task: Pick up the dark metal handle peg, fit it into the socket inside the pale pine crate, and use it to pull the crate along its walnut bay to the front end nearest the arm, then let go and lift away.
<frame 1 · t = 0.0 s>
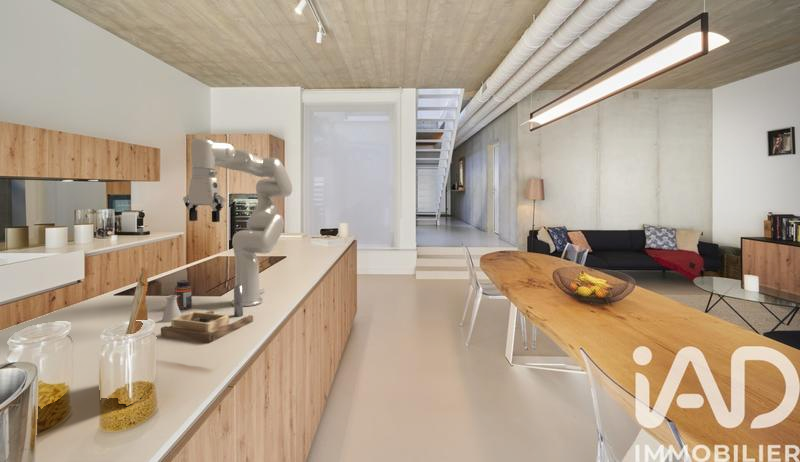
hand: (204, 221, 134), 37 cm above the worktop, tool pointing down, fingers open, 9 cm apart
crate: (200, 324, 120), point 4 cm above the worktop, slide at 0.0 cm
handle peg: (238, 319, 138), on the worktop
supplement bottle: (183, 308, 150), on the worktop
bay: (210, 332, 124), on the worktop
flask: (172, 324, 132), on the worktop
pancake mix bag: (138, 390, 87), on the worktop
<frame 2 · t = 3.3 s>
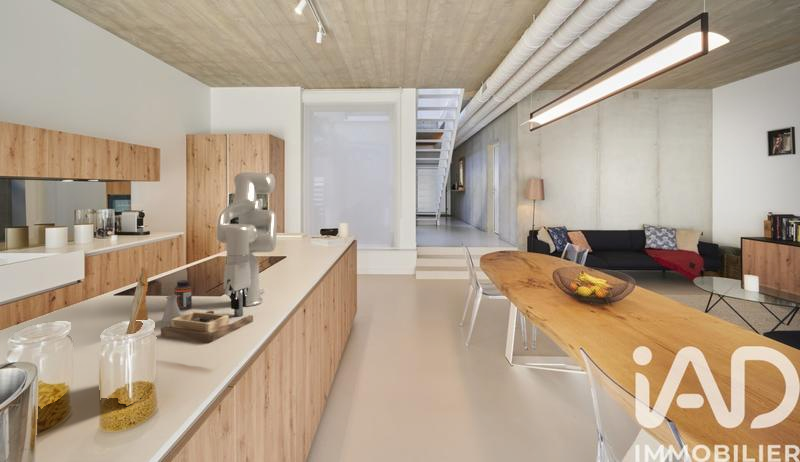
hand: (238, 307, 138), 5 cm above the worktop, tool pointing down, fingers closed on handle peg, 3 cm apart
handle peg: (238, 319, 138), on the worktop, touching gripper
everything else where it was.
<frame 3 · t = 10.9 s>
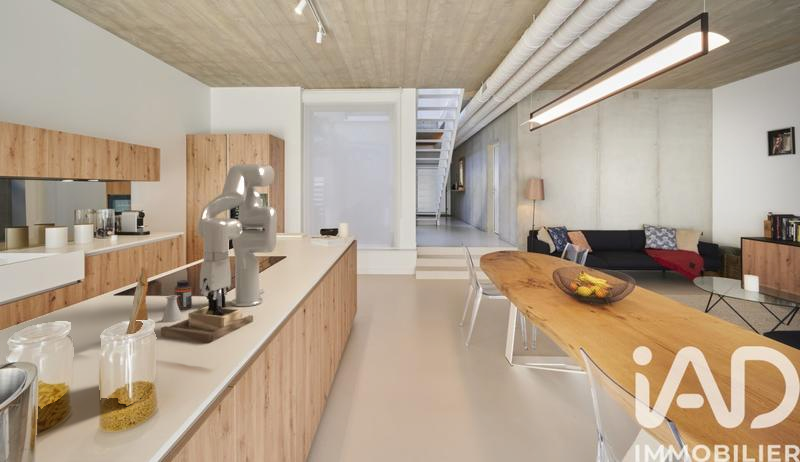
hand: (217, 308, 127), 7 cm above the worktop, tool pointing down, fingers closed on handle peg, 3 cm apart
crate: (215, 318, 127), point 4 cm above the worktop, slide at 6.8 cm, touching handle peg
handle peg: (217, 321, 127), point 3 cm above the worktop, touching crate, gripper
everything else where it was.
when the fingers open (7 cm above the worktop, at t = 12.0 s): handle peg stays where it is, resting on crate.
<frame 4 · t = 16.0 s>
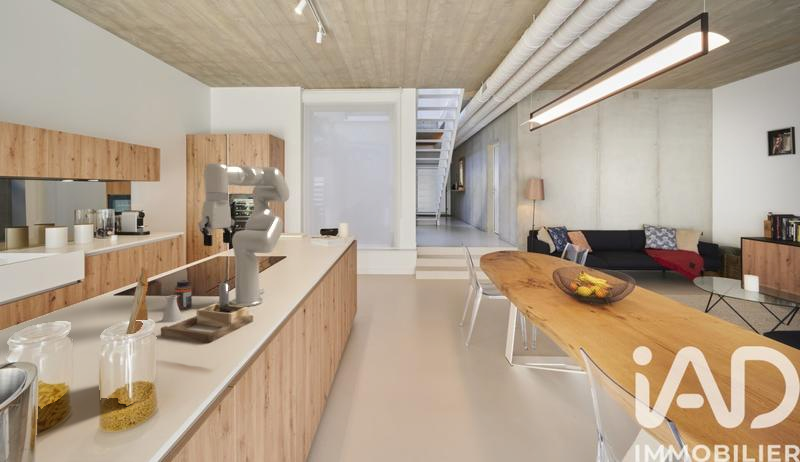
hand: (217, 244, 136), 28 cm above the worktop, tool pointing down, fingers open, 9 cm apart
crate: (223, 315, 130), point 4 cm above the worktop, slide at 10.3 cm, touching handle peg
handle peg: (224, 319, 131), point 2 cm above the worktop, touching crate
everything else where it was.
at the end: crate slide at 10.3 cm; handle peg 0.3 cm from the target spot, point 2.3 cm above the worktop; the gripper is holding nothing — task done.
